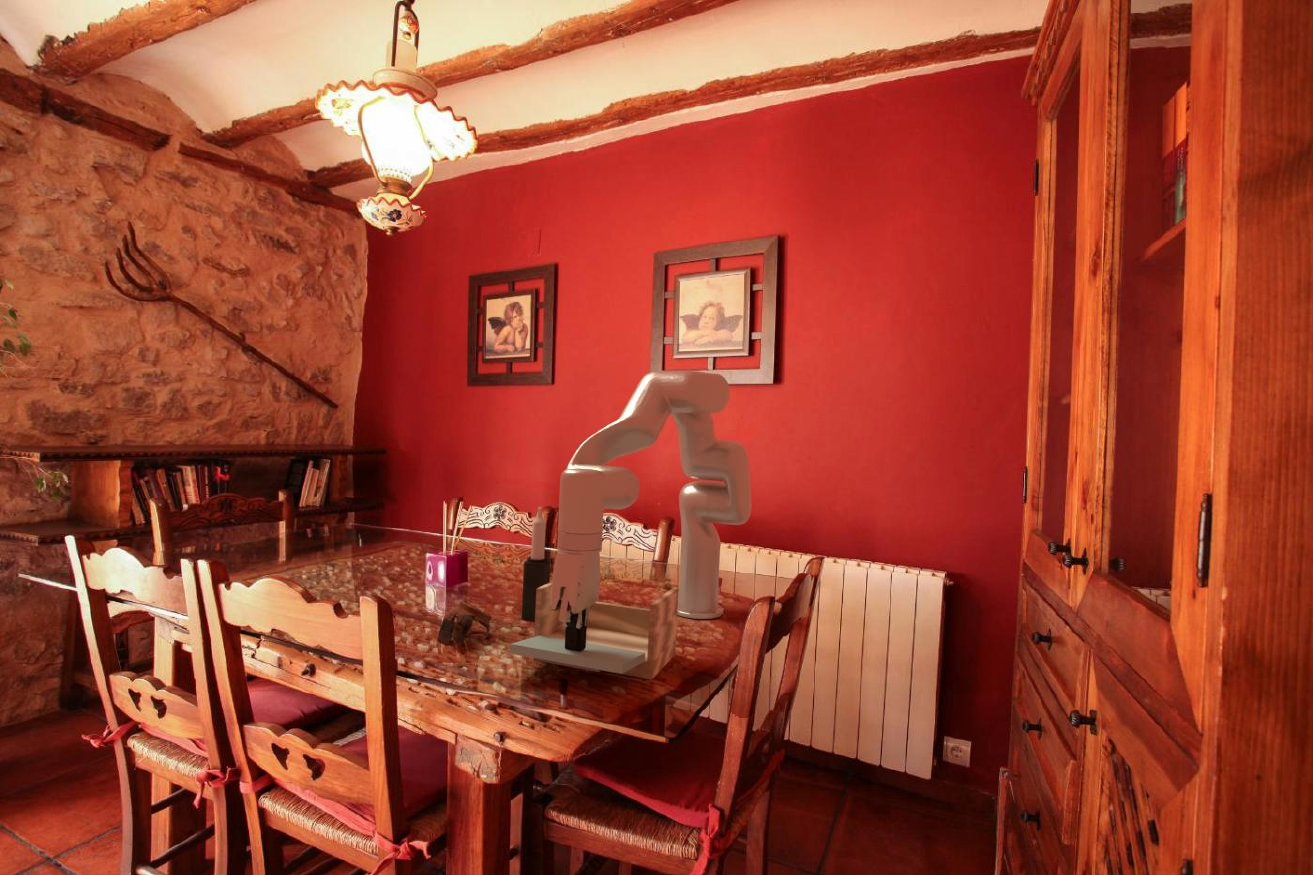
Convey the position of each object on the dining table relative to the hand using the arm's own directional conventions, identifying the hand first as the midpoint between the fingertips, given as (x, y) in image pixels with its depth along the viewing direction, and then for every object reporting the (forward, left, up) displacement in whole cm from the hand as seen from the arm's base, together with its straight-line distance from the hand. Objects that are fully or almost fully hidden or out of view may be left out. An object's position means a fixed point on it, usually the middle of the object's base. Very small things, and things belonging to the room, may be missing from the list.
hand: (575, 648), depth 106 cm
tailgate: (-7, 0, -3) cm, 7 cm away
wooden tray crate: (-14, 0, -6) cm, 15 cm away
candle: (-29, -24, -6) cm, 38 cm away
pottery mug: (-9, -29, -6) cm, 31 cm away
